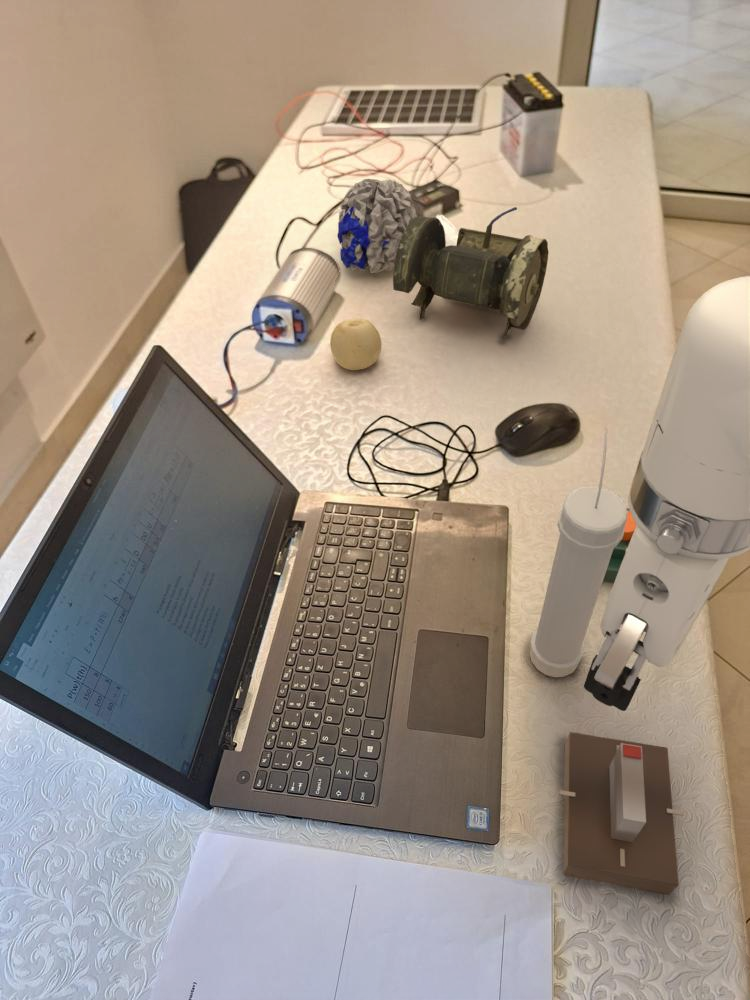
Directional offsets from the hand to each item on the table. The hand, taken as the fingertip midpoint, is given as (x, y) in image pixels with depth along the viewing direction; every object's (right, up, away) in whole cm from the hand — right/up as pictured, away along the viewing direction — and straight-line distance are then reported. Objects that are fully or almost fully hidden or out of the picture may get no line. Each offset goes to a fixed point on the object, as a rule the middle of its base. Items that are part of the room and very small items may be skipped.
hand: (633, 648), depth 54 cm
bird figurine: (-5, +58, +82) cm, 101 cm away
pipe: (0, -6, +24) cm, 25 cm away
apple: (-22, +33, +61) cm, 73 cm away
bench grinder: (-3, +42, +68) cm, 80 cm away
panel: (+3, -18, +13) cm, 22 cm away
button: (+9, +8, +31) cm, 33 cm away
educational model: (-19, +57, +82) cm, 102 cm away
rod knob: (+3, -16, +11) cm, 19 cm away
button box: (+10, +5, +34) cm, 35 cm away
